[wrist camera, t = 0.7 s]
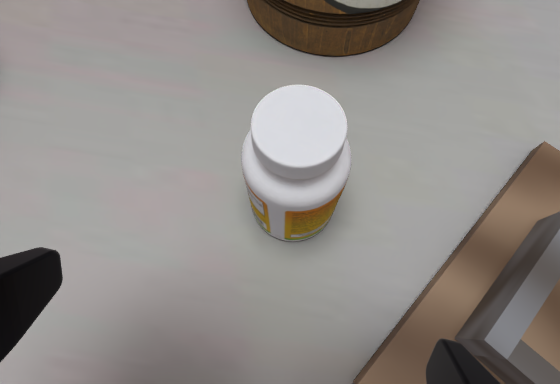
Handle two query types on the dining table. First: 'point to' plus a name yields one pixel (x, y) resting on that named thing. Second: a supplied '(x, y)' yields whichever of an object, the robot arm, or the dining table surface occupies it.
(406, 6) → the wooden container
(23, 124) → the dining table surface
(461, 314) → the collar board
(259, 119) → the supplement bottle
